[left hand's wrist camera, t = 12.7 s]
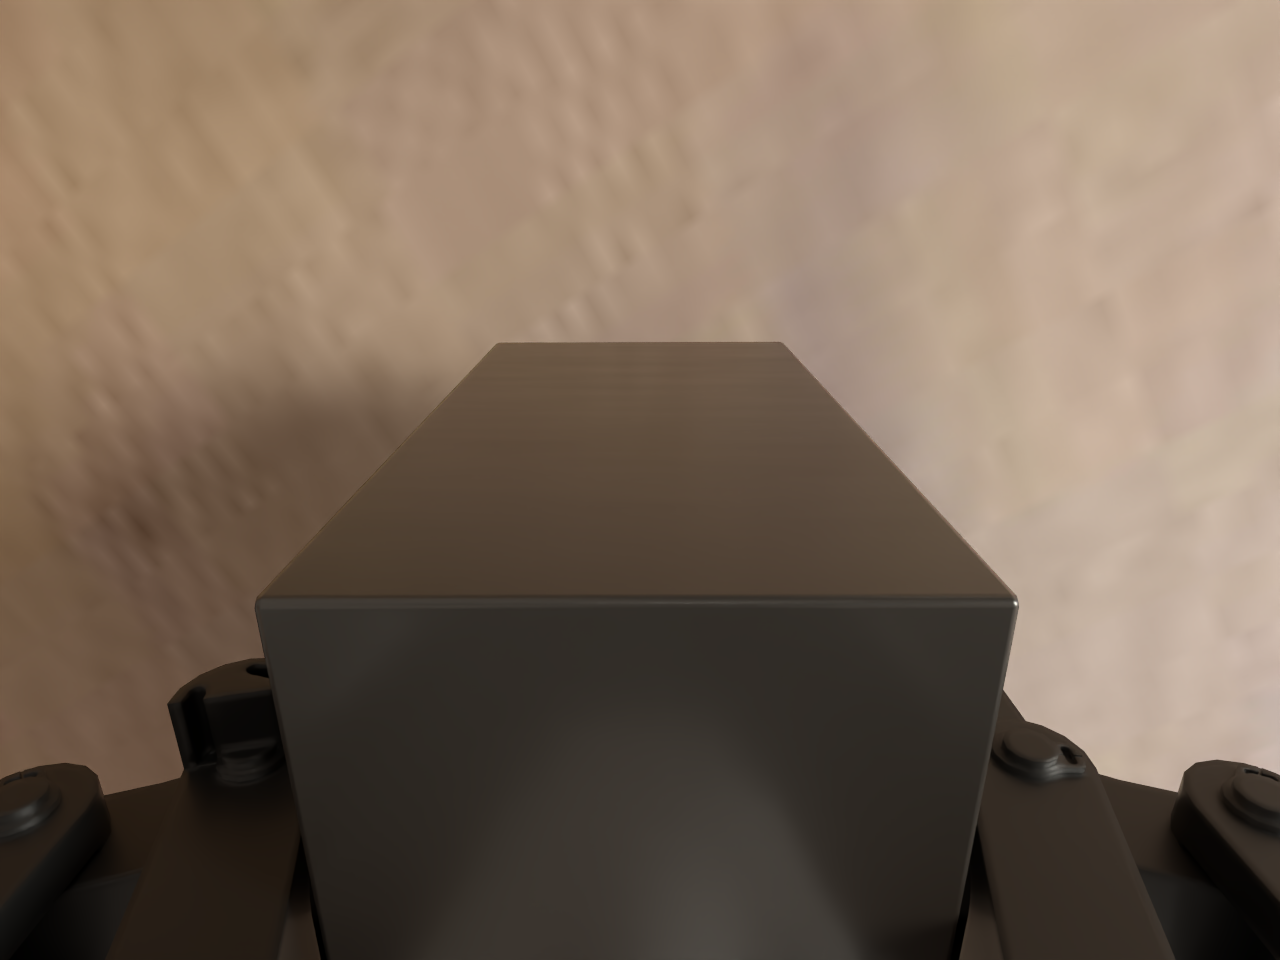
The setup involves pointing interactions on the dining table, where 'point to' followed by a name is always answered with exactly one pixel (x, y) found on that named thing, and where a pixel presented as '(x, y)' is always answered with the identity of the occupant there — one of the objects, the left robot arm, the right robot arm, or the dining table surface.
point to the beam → (637, 674)
